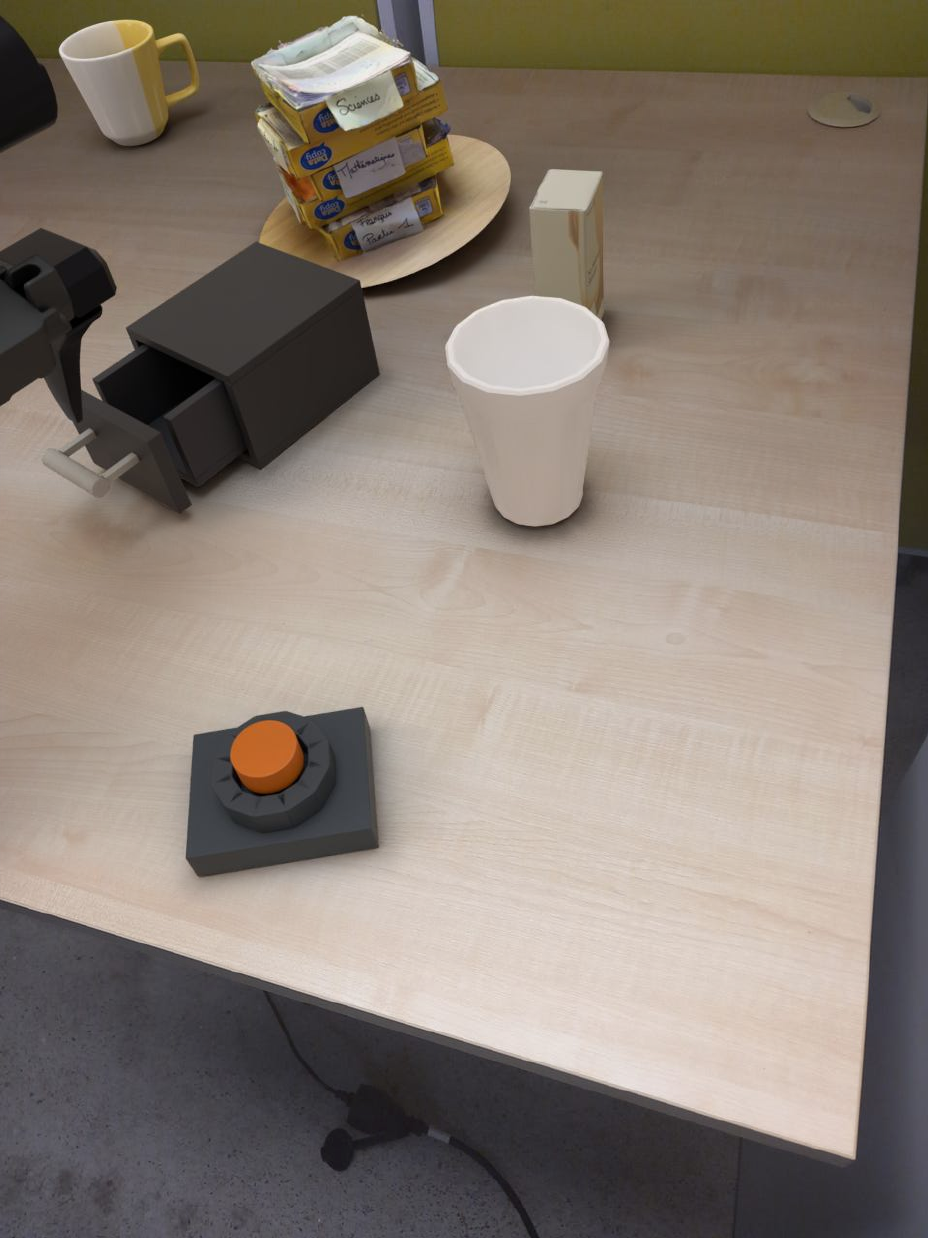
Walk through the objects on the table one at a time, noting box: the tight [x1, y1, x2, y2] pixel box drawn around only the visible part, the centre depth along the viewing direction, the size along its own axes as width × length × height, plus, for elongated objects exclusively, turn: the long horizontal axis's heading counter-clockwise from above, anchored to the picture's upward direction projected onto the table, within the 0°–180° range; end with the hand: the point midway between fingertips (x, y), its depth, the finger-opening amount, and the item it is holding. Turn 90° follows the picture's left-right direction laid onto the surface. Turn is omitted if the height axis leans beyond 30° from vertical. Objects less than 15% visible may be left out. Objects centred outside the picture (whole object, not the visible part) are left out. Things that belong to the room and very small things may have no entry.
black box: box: [125, 241, 380, 470], centre depth 80 cm, size 14×12×9 cm
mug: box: [58, 19, 201, 147], centre depth 114 cm, size 14×10×10 cm
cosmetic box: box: [528, 168, 605, 321], centre depth 80 cm, size 6×4×12 cm
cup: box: [444, 295, 610, 527], centre depth 67 cm, size 10×10×13 cm
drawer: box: [41, 344, 248, 515], centre depth 75 cm, size 17×10×7 cm, turn 141°
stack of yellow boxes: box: [250, 13, 512, 289], centre depth 92 cm, size 25×25×17 cm
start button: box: [230, 720, 304, 794], centre depth 55 cm, size 4×4×2 cm
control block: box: [185, 706, 380, 878], centre depth 57 cm, size 10×8×4 cm
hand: (14, 463), depth 61 cm, fingers open, 9 cm apart
